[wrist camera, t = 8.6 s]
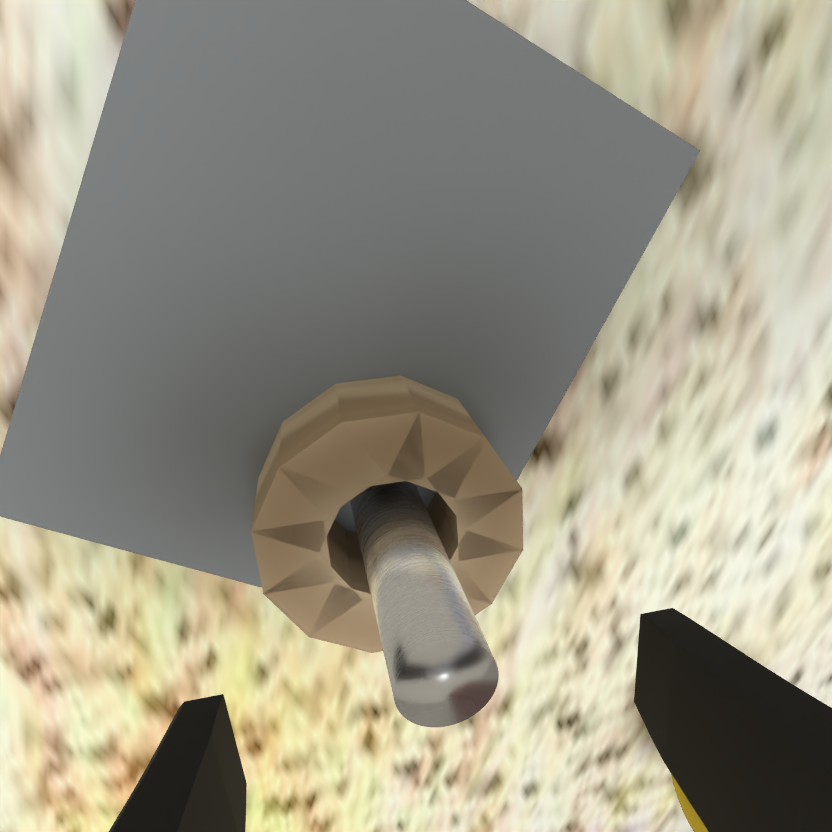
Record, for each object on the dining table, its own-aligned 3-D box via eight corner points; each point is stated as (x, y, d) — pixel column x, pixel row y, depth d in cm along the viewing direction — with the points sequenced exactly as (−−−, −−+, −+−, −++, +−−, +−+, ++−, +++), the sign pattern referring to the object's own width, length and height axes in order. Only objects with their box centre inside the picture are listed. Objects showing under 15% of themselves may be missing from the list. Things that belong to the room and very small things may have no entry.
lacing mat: (687, 151, 17) (700, 150, 17) (428, 621, 22) (431, 633, 21) (193, -163, 13) (188, -178, 12) (-7, 501, 17) (-17, 511, 17)
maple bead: (529, 427, 19) (569, 470, 16) (431, 607, 21) (451, 672, 18) (317, 340, 17) (320, 372, 14) (227, 548, 18) (215, 613, 16)
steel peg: (410, 452, 18) (497, 632, 11) (415, 510, 19) (500, 713, 12) (344, 463, 18) (388, 654, 11) (351, 521, 19) (399, 737, 11)
